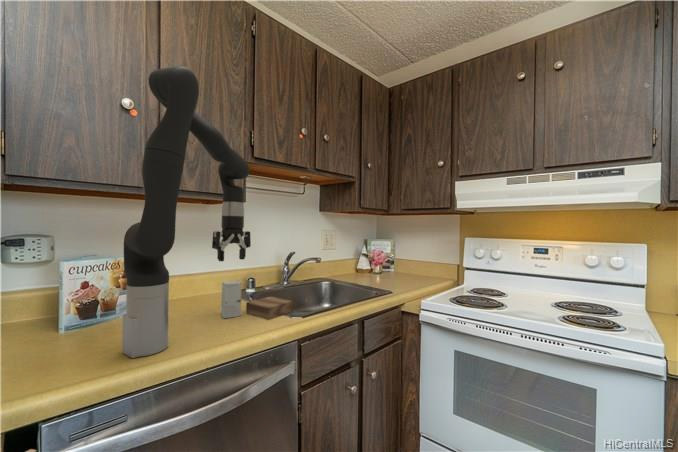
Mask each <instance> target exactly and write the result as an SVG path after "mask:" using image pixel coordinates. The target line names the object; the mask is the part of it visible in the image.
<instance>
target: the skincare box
mask: <svg viewBox="0 0 678 452" xmlns="http://www.w3.org/2000/svg"><path fill="white" fill-rule="evenodd" d="M242 286H243V285H242V281H240V280H235V281H233V280H232V281H229V280H228V281H222V282H221V304H220V305H221V307H220V308H221V309H220V316H221V317H222V318H223V319H228V318H237V317H240V316H241V311H242Z"/></svg>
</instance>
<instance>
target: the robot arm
mask: <svg viewBox="0 0 678 452" xmlns="http://www.w3.org/2000/svg"><path fill="white" fill-rule="evenodd" d="M148 86H149V89H150V92H151V93H152V94H153V96H154V98H155V99H156V100H157V101H158V102H159V103H160V104H161V105H162V106H163V107H165V112H164V115H163V117H162V118H161V120H160V121H159V123H158V124H157V126H156V127H155V128H154V130H153V131H152V132H151V134H150V136H149V138H148V140H147V141H146V144H145V147H144V153H143V158H142V164H141V177H142V183H143V190H144V205H143V206H144V207H143V209H142V214H141V218H140V221H139V222H136V223H134V224H132V225H131V226H129V227H128V229H127V230H126V231H125V233H124V236H123V237H124V238H123V271H124V275H125V277H126V295H125V296H126V299H125V300H126V303H125V304H126V306H125V310H126V311H125V314H123V315H122V332H121V334H122V336H121V338H122V339H121V344H122V346H121V348H122V349H121V350H122V351H121V353H122V354H124V355H126V356H127V357H129V358H130V359H135V358H139V357H145V356H146V357H147V356H151V355H155V354H158V353H160V352H162V351H164V350H166V349H167V348H168V347H169V312H170V310H169V308H170V307H169V303H170V302H169V301H170V296H169V295H170V272H169V270H168V269H167V267H166V265H165V264H166V263H165V258H164V257H165V256H166V255H167V254H168V253H169V252H170V251H171V250H172V248H173V246H174V244H175V240H176V221H177V219H176V217H177V216H176V215H177V206H178V198H179V195H180V194H179V193H180V189H181V188H180V187H181V182H182V176H183V173H184V166H185V160H186V153H187V152H186V150H187V145H188V140H189V136H190V133H191V134H192V135H193V136H194V137H195V138H196V139H197V140H198V141H199V144H201V145H202V147H203V148H204V149H205V151H206V152H207V153H208V154H209V156H210V157H211V158H212V159H213V161H215V162H217V163H219V165H218V169H217V170H218V171H217V172H218V177H219V180H220V184H221V188H222V206H221V225H220V226H221V231H220V230H217V231H215V230H214V231H213V233H212V243H211V244H212V245H211V248H212V249H215V250H216V251H217V253H216V254H217V256H216V257H217V260H218V262H224V261H225V248H226V247H228V245H229V244H236V245H237V246H238V248H240V249H239V254H238V255H239V256H238V258H239V260H242V261H243V260H245V258H246V252H247V251H246V250H247V248H251V246H252V245H251V232H250V231H247V230H245V231H244V228H245V207H244V201H245V200H244V197H245V196H244V195H245V194H244V192H245V191H244V188H243V187H241V186H240V185H235V181H234V180H243V179H246V178H248V176H249V175H250V168H249V164H248V163H247V161H246V160H245V159H244V157H242V156H241V154H239V153H238V152H237V151H236V150H234V149H233V148H232V147H231V145H230V144H229V143H228V142H227V139H226V138H225V137H224V135H223V134H222V133H221V132H220V130H218V128H217V127H215V126H214V125H213V124H211V122H209V121H208V120H206V118H203V117H202V116H201V115H200V114H199V113H197V112H196V111H195V110H196V107H197V104H198V100H199V96H200V95H199V94H200V87H199V81H198V78H197V76H196V75H195V73H194V71H192V70H191V69H190V68H189V67H186V66H180V65H179V66H178V65H177V66H170V67H163V68H158V69H154V70H153V71H152V72H151V73H150V74H149V76H148ZM221 237H222V238H221Z"/></svg>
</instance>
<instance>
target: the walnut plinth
mask: <svg viewBox="0 0 678 452" xmlns="http://www.w3.org/2000/svg"><path fill="white" fill-rule="evenodd" d="M293 302H294V301H293V300H290V299H285V298H279V297H276V296H272V295H271V296H267V297H262V298H259V299H255V300H252V301H251V300H250V301H247V302H246V303H245V304H246V305H245V307H246V309H245V310H246V311H245V314H247V315H251V316H254V317H258V318H260V319H265V320H272V319H275V318H277V317H280V316H283V315H287V314H289V313H288V312H290V313H293V311H294V310H293V308H294V307H293V305H294V303H293Z"/></svg>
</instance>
